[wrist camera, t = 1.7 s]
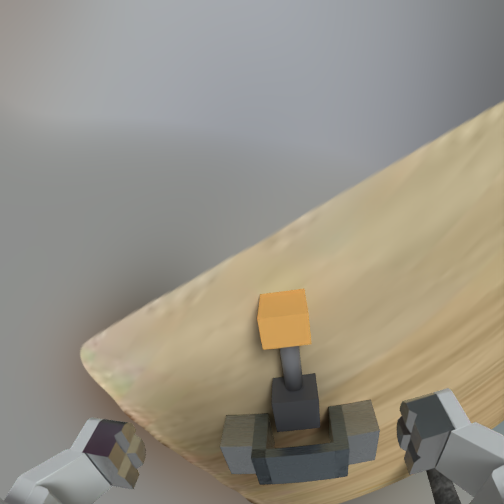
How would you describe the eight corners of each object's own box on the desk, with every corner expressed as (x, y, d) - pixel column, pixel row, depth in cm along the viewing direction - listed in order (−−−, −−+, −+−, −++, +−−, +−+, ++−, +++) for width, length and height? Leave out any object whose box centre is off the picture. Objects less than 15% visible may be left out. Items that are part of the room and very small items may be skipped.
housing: (370, 399, 32) (383, 441, 26) (367, 430, 34) (377, 470, 28) (226, 415, 34) (217, 458, 28) (236, 444, 36) (230, 484, 30)
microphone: (450, 439, 35) (489, 540, 16) (410, 460, 36) (439, 565, 17) (441, 419, 33) (488, 534, 14) (398, 443, 35) (429, 562, 16)
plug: (306, 288, 28) (311, 312, 24) (317, 402, 33) (320, 430, 28) (257, 294, 29) (253, 319, 25) (277, 406, 33) (277, 435, 29)
